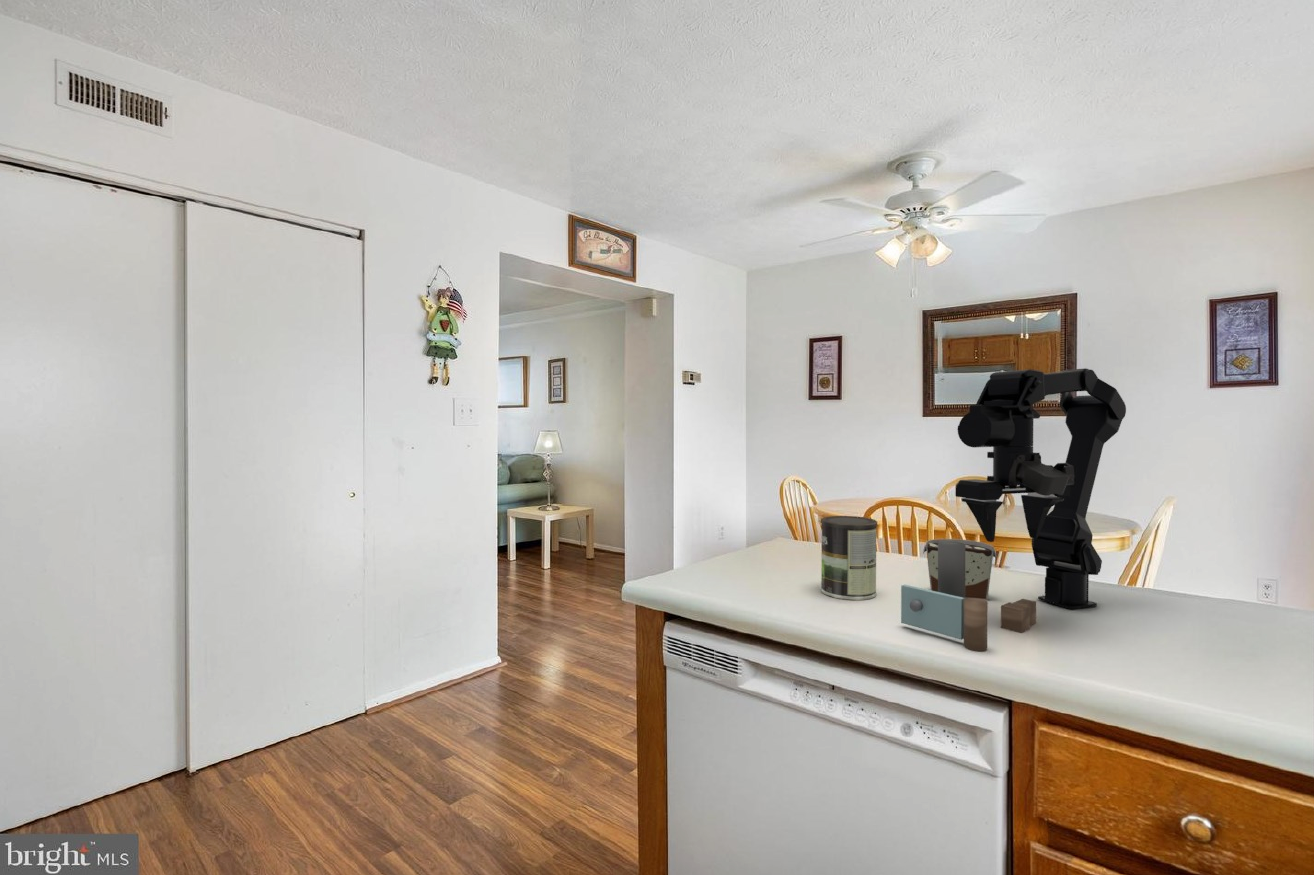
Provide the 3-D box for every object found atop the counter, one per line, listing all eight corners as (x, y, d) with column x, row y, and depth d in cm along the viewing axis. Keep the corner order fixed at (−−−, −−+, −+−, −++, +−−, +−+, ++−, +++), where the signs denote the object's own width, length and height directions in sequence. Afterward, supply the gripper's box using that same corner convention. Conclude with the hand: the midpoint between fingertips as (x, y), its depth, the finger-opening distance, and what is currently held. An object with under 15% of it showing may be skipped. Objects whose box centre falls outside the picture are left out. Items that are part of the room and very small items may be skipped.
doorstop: (972, 619, 99) (972, 541, 98) (975, 632, 93) (975, 548, 92) (929, 615, 101) (929, 538, 101) (930, 626, 95) (930, 545, 95)
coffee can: (818, 597, 112) (818, 522, 111) (822, 583, 121) (823, 514, 121) (877, 602, 108) (877, 525, 108) (876, 588, 118) (877, 517, 118)
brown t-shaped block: (981, 652, 84) (981, 605, 84) (959, 646, 87) (960, 600, 87) (1039, 623, 96) (1039, 581, 96) (1019, 619, 99) (1019, 578, 99)
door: (964, 638, 88) (964, 597, 88) (957, 641, 87) (958, 600, 87) (904, 621, 96) (904, 584, 96) (897, 624, 95) (897, 586, 94)
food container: (989, 592, 115) (990, 540, 114) (996, 601, 109) (996, 546, 109) (919, 586, 119) (920, 536, 118) (922, 595, 113) (923, 542, 113)
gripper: (1010, 449, 89) (1009, 553, 89) (1103, 447, 94) (1102, 545, 94) (953, 446, 99) (952, 540, 100) (1039, 444, 105) (1038, 533, 105)
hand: (1012, 539), depth 99 cm, fingers open, 9 cm apart
